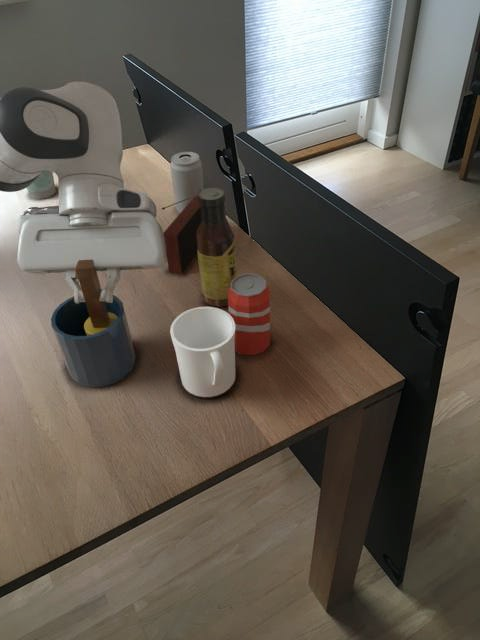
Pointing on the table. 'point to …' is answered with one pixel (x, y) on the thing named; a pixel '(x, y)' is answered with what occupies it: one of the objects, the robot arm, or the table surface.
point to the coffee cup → (42, 186)
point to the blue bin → (93, 344)
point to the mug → (205, 351)
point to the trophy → (93, 298)
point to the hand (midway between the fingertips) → (94, 303)
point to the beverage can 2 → (250, 313)
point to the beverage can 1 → (186, 177)
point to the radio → (183, 236)
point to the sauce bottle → (215, 248)
